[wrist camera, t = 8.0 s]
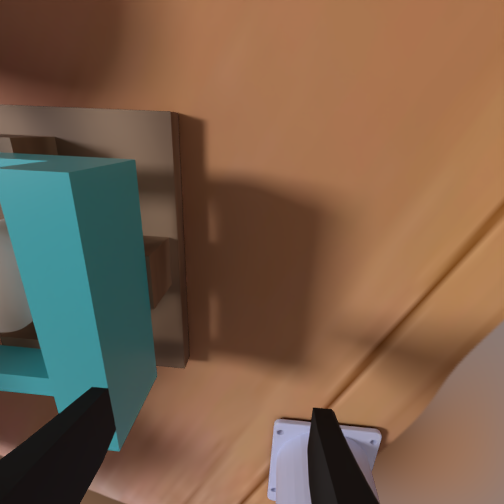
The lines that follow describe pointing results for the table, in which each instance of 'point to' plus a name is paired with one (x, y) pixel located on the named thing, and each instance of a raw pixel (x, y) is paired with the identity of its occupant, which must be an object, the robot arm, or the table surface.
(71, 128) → the stand
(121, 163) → the teal c-shaped bracket
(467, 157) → the table surface
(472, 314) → the table surface
